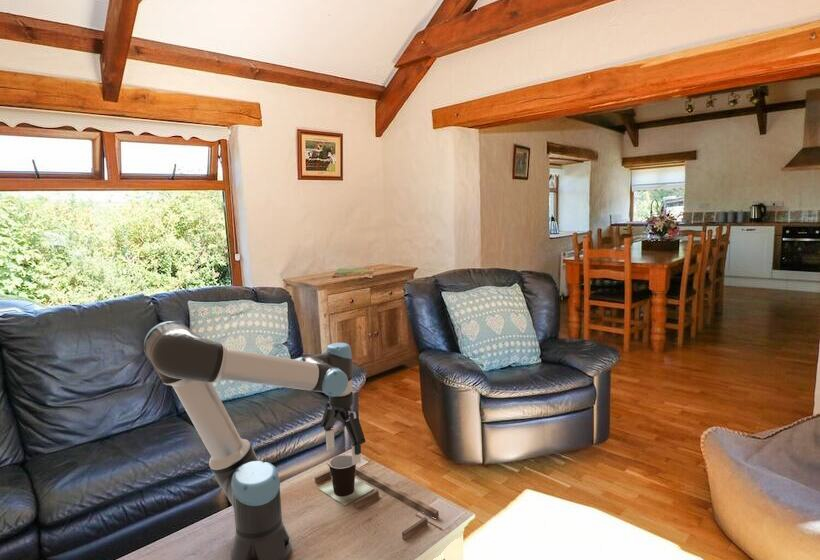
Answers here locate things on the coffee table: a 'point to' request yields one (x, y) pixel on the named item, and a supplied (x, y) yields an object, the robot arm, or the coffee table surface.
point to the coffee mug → (342, 475)
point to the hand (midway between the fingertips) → (343, 456)
